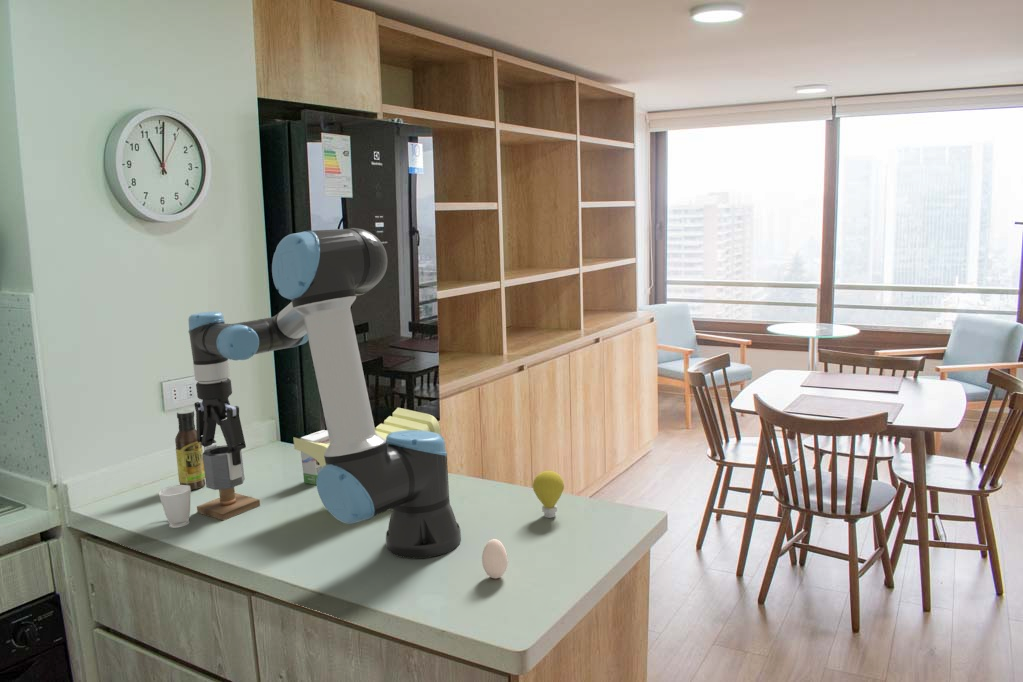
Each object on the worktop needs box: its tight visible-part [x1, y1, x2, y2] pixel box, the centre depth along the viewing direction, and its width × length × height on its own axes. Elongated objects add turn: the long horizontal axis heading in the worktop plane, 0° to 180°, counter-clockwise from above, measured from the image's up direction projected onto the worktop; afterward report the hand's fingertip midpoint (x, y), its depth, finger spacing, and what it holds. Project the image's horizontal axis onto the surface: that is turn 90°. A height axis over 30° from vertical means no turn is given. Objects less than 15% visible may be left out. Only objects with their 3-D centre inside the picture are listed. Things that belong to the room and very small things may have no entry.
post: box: [196, 487, 261, 521], centre depth 187 cm, size 10×10×10 cm
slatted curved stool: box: [293, 407, 442, 467], centre depth 187 cm, size 30×16×18 cm, turn 136°
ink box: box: [300, 429, 330, 486], centre depth 204 cm, size 8×5×12 cm, turn 147°
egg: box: [481, 538, 509, 579], centre depth 145 cm, size 5×5×7 cm
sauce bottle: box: [174, 409, 206, 491], centre depth 203 cm, size 6×6×20 cm
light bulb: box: [532, 470, 565, 519], centre depth 172 cm, size 7×7×10 cm
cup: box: [158, 484, 192, 529], centre depth 180 cm, size 7×10×8 cm
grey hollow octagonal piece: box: [202, 444, 246, 491], centre depth 186 cm, size 8×8×8 cm
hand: (224, 474), depth 186 cm, fingers closed on grey hollow octagonal piece, 8 cm apart
